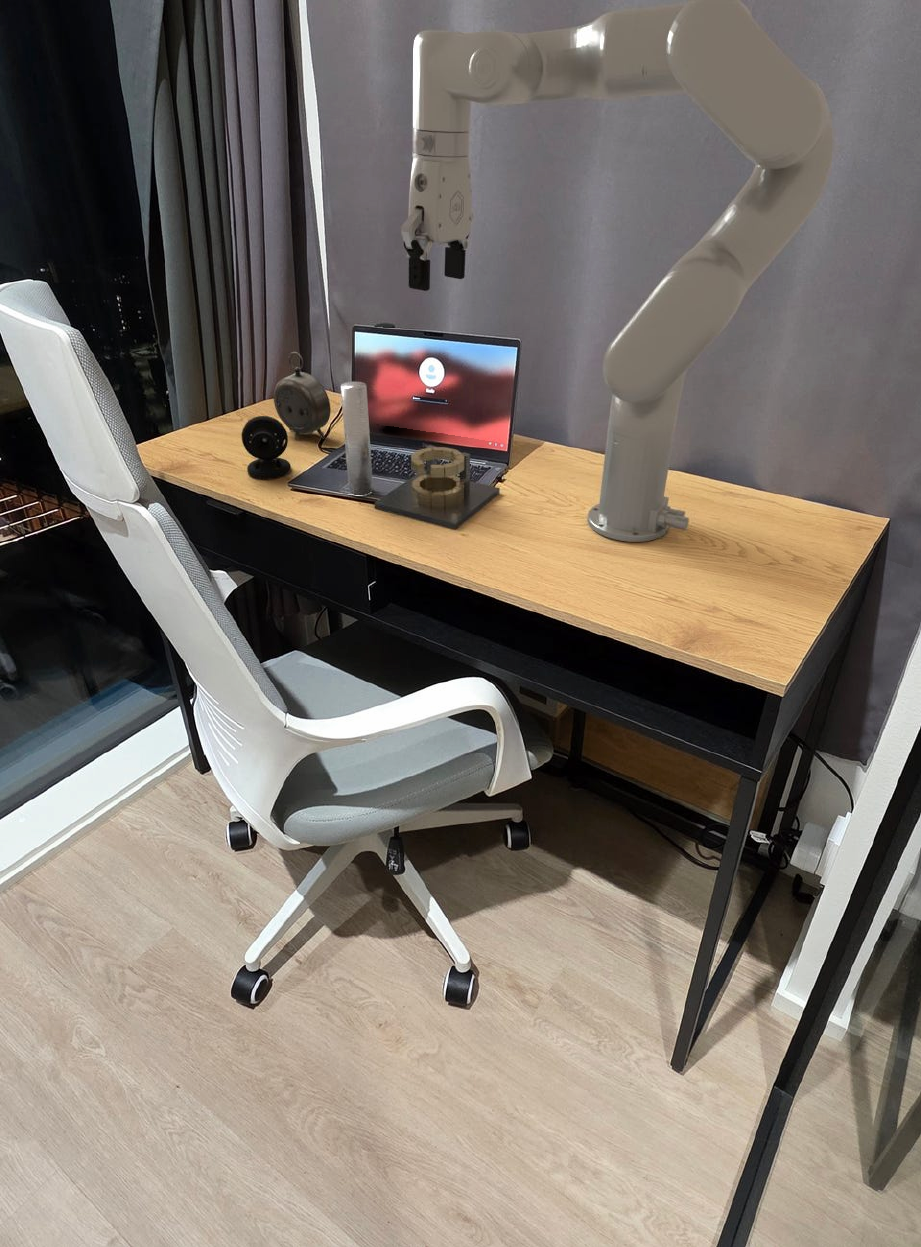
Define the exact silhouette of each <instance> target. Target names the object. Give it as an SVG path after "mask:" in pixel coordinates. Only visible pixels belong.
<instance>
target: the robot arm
mask: <svg viewBox="0 0 921 1247" xmlns="http://www.w3.org/2000/svg"><path fill="white" fill-rule="evenodd" d="M412 51H413V53H412V55H413V57H412V59H413V60H412V64H413V65H412V70H413V71H412V74H413V75H412V153H411V154H412V164H411V173H410V182H409V196H408V217H407V218H406V220H405V221H404V222H403V224H402V225H400V226H401V227H400V232H401V236H402V239H403V247H404V250H406V258H407V259H408V288H410V289H413V290H418V291H423V292H426V291H430V288H431V285H430V284H431V283H430V281H431V260H430V259H428V257H429V255H430V253H431V249H432V247H433V244H434V243H435V244H437V245H443V244H444V245H445V244H447V246H446V247H445V248H444V276H445V277H447V278H452V279H457V280H458V279H459V280H463V279H464V278H465V275H466V274H465V273H466V251H467V248H468V246H469V242H468V239H469V237H470V234H471V231H472V221H473V218H474V213H473V212H472V208H473V207H472V206H473V205H472V204H473V202H472V173H471V164H470V158H469V155H470V153H469V151H470V150H469V149H470V135H471V134H470V130H471V129H470V128H471V110H472V109H471V106H472V102H474V103H477V104H481V105H486V106H502V105H503V106H504V105H519V104H528V103H538V102H540V103H541V102H550V101H560V100H561V101H562V100H571V99H572V100H574V99H587V98H588V99H589V98H590V99H594V100H599V101H607V100H621V99H622V100H623V99H630V98H631V99H632V98H641V97H642V98H644V97H655V96H667V95H675V94H677V95H679V94H687V95H689V97H690V98H691V100H692V101H693V102H694V103H695V104H696V105H697V107H698V108H699V109H701V110H702V111H703V113H704V114H705V115H706V116H707V117H708V118H709V119H710V120H711V121H712V122H713V123H714V125H716V127H718V128H719V129H720V131H721V132H722V133H723V134H724V135H725V136H726V137H727V138H728V139H729V140H730V141H731V142H732V144H733V145H734V146H735V147H736V148H737V150H739V151H740V152H741V153H742V154H743V155H744V156H745V157H746V158H747V159H748V160H750V161H751V162H752V163H753V164H755V166H754V169H753V171H752V173H751V175H750V177H749V178H748V180H747V182H746V183H745V184H744V186H743V187H742V188H741V189H740V191H739V192H738V193H737V195H736V196H735V197H734V198H733V199H732V200H731V202H730V203H729V205H728V206H727V207H726V208H725V210H724V211H723V212H722V214H721V216H719V217H718V219H717V220H716V221H715V222H714V224H713V225H712V226H711V227H710V228H709V230H708V231H707V232H706V233H705V234H704V235H703V236H702V238H701V239H700V240H699V241H698V242H697V243H696V244H695V245H694V246H693V247H692V248H691V249H690V250H688V251H687V252H686V253H685V254H684V255H683V256H682V257H680V259H678V261H677V262H676V263H674V265H673V266H672V267H671V268H670V269H669V271H667V273H666V274H665V276H663V278H662V279H661V281H659V283H658V284H657V285H656V287H655V288H654V289H653V291H652V292H651V293H650V294H649V295H648V296H647V298H646V299H645V300H644V301H643V303H642V304H641V305H640V306H639V308H638V309H637V310H636V311H635V313H633V315H632V316H631V318H630V319H629V320H628V321H627V323H626V324H625V325H624V326H623V328H621V330H620V331H619V332H618V333H617V335H616V336H615V337H614V338H613V339H612V340H611V342H610V343H609V344H608V347H607V348H606V351H605V353H604V356H603V362H602V375H603V378H604V382H605V385H606V386H607V388H608V390H609V391H610V393H611V400H610V401H611V402H610V408H609V409H610V410H609V415H608V416H609V418H608V425H607V432H606V433H607V434H606V443H605V451H604V459H603V466H602V467H603V469H602V478H601V485H600V493H599V494H600V496H599V503H597V504H595V505H594V506H592V507H591V508H590V509H589V510H588V513H587V521H586V522H587V523H588V526H589V527H590V528H591V529H592V530H593V531H594V532H596V533H597V534H598V535H599V534H600V535H601V536H603V537H606V538H608V539H610V540H611V539H612V540H616V541H619V542H620V541H621V542H629V543H640V542H642V543H643V542H649V541H653V540H657V539H660V538H662V537H663V536H665V535H666V534H667V533H668V532H669V529H670V527H671V528H674V529H678V530H682V531H686V530H687V528H688V526H689V521H690V518H689V517H687V516H686V511H684V510H681V509H674V508H671V506H669V499H670V498H669V497H668V496H665V492H666V486H667V478H668V473H669V469H670V468H669V466H670V461H671V455H672V449H673V442H674V437H675V432H676V426H677V420H678V414H679V408H680V402H681V396H682V392H683V388H684V382H685V377H686V373H687V370H688V369H689V368H690V367H691V366H692V365H693V363H694V362H695V361H696V360H697V359H698V358H699V357H700V356H701V355H702V354H703V353H704V351H706V349H707V348H708V347H709V346H710V345H711V344H712V342H713V341H715V339H716V338H717V337H718V336H719V335H720V333H722V331H723V330H724V329H725V328H726V327H727V326H728V324H729V323H730V321H732V319H733V317H734V316H735V315H736V313H737V311H738V309H739V307H740V305H741V303H742V301H743V300H744V297H745V295H746V294H747V292H748V291H749V289H750V288H751V286H752V285H753V283H755V281H757V279H758V278H759V277H760V275H761V274H763V272H764V271H765V270H766V269H767V268H768V267H769V265H771V264H772V262H773V261H774V260H775V259H776V257H777V256H779V254H780V252H781V251H782V250H783V249H784V248H785V247H786V245H787V244H788V243H789V242H790V241H791V239H792V238H793V237H794V236H795V235H796V233H797V232H798V231H799V230H800V228H801V227H802V226H803V224H804V223H805V221H807V219H808V218H809V216H810V215H811V213H812V212H813V210H814V208H815V207H816V205H817V203H818V201H819V199H820V198H821V195H822V193H823V191H824V189H825V187H826V183H827V181H828V179H829V176H830V171H831V168H832V162H833V158H834V146H835V144H834V143H835V142H834V129H833V121H832V117H831V112H830V109H829V104H828V102H827V99H826V96H825V94H824V92H823V90H822V89H821V87H820V86H819V85H818V84H817V83H816V82H814V81H813V80H812V79H810V78H807V76H806V75H805V74H804V73H803V72H802V71H801V70H800V68H798V67H797V66H796V65H795V64H794V63H793V62H792V61H791V60H790V59H789V58H788V57H787V55H786V54H785V53H784V52H783V51H782V50H781V49H780V48H779V46H778V45H777V44H776V43H775V42H773V40H772V39H771V38H770V37H769V36H768V35H767V33H766V32H765V31H763V28H761V27H760V25H759V24H758V23H757V22H756V21H755V19H754V18H753V15H752V13H751V11H750V10H749V8H748V7H747V5H745V3H743V2H742V1H741V0H691V1H684V2H678V3H671V4H665V5H664V4H663V5H657V6H648V7H637V8H628V9H619V10H614V11H609V12H607V13H604V14H602V15H600V16H599V17H597V18H596V19H594V20H593V21H590V22H589V23H585V24H582V25H578V26H574V27H567V28H562V29H561V28H560V29H553V30H545V31H535V32H526V33H524V32H523V33H518V32H512V31H508V30H507V31H505V30H497V29H496V30H494V29H493V30H491V29H490V30H483V31H482V30H481V31H480V30H479V31H475V32H468V33H466V32H460V31H455V30H454V31H453V30H437V29H436V30H435V29H434V30H433V29H431V30H430V29H428V30H422V31H420V32H419V33H417V34H416V36H415V37H414V41H413V50H412ZM421 244H423V246H421Z"/></svg>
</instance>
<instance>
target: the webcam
mask: <svg viewBox="0 0 921 1247" xmlns="http://www.w3.org/2000/svg"><path fill="white" fill-rule="evenodd" d="M241 442H242V445H243V448H244V449H245V450H246V452H247V453H248V454H249V455H251V456H252V457H253V458H255V460H252V461H251V462H250V463H249V464H247V470H246V471H247V473H248V475H249V476H250V477H253V478H255V479H259V480H274V479H275V480H276V479H278V478H282V477H283V476H285V475H287V474H289V473H290V471H291V470H292V466H291V463H290V462H289V460H287V459H285V458H281V455H283V453H285V451H286V449H287V446H288V442H289V436H288V432H287V430H286V428H285V427H284V425H283V424H282V422H280V420H278V419H277V418H274V417H271V416H268V415H259V416H255V417H253V418H251V419H249V420H248V421H247V422H246V423H245V425H244V426H243V427H242V432H241ZM278 466H279V468H278Z"/></svg>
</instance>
